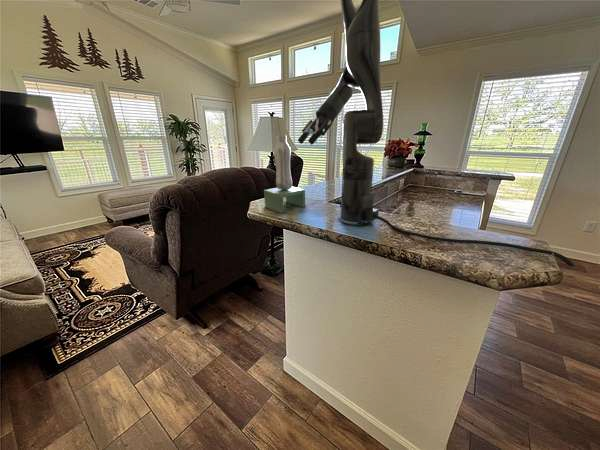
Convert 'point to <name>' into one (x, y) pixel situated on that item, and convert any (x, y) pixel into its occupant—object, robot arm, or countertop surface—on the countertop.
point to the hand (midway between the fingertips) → (304, 142)
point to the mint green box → (276, 198)
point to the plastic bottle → (282, 163)
